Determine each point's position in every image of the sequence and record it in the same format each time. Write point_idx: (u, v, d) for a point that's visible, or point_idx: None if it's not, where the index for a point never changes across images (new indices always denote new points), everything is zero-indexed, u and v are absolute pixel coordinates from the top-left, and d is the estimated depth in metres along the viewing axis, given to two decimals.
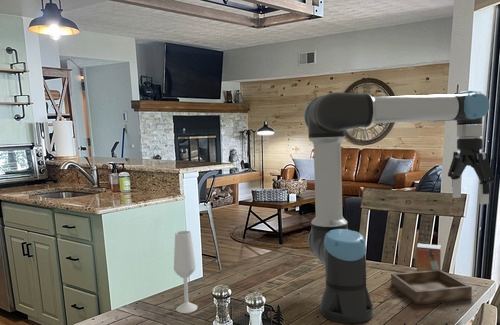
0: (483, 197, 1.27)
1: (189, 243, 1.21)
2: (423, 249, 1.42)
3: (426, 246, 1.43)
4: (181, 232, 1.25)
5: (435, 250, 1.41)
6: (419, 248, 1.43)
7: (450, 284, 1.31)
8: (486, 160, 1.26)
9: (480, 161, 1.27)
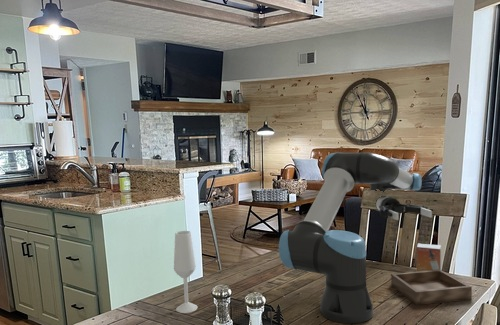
0: None
1: (189, 243, 1.21)
2: (423, 249, 1.42)
3: (426, 246, 1.43)
4: (181, 232, 1.25)
5: (435, 250, 1.41)
6: (419, 248, 1.43)
7: (450, 284, 1.31)
8: None
9: (411, 205, 1.67)
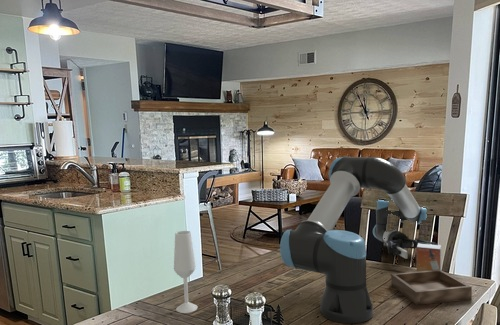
0: None
1: (189, 243, 1.21)
2: (423, 249, 1.42)
3: (426, 246, 1.43)
4: (181, 232, 1.25)
5: (435, 250, 1.41)
6: (419, 248, 1.43)
7: (450, 284, 1.31)
8: None
9: None
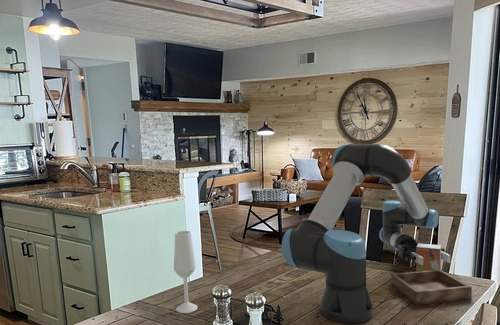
0: None
1: (189, 243, 1.21)
2: (422, 248, 1.42)
3: (426, 246, 1.43)
4: (181, 232, 1.25)
5: (435, 250, 1.41)
6: (419, 248, 1.43)
7: (450, 284, 1.31)
8: None
9: None
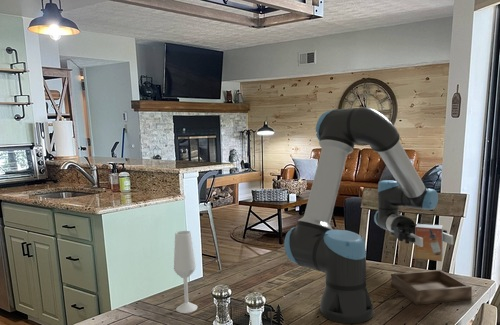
0: None
1: (189, 243, 1.21)
2: (422, 229, 1.26)
3: (426, 226, 1.27)
4: (181, 232, 1.25)
5: (436, 230, 1.25)
6: (418, 228, 1.27)
7: (450, 284, 1.31)
8: None
9: None
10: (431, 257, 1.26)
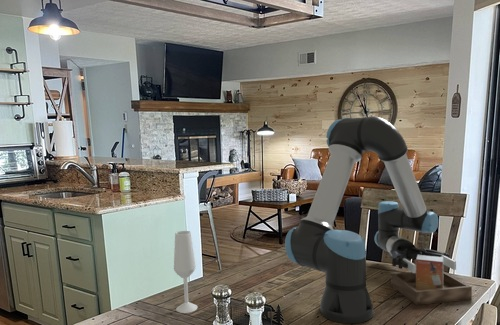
0: None
1: (189, 243, 1.21)
2: (423, 261, 1.27)
3: (427, 258, 1.27)
4: (181, 232, 1.25)
5: (436, 263, 1.25)
6: (419, 260, 1.27)
7: (450, 284, 1.31)
8: None
9: (429, 249, 1.39)
10: None
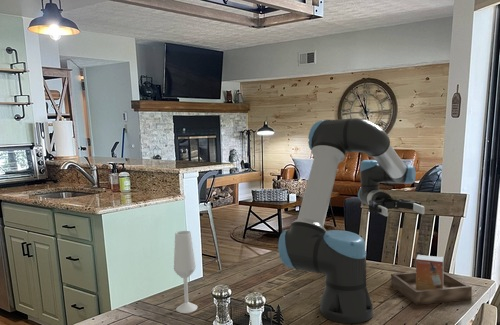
0: None
1: (189, 243, 1.21)
2: (423, 261, 1.27)
3: (427, 258, 1.27)
4: (181, 232, 1.25)
5: (436, 263, 1.25)
6: (419, 260, 1.27)
7: (450, 284, 1.31)
8: None
9: (404, 200, 1.55)
10: None
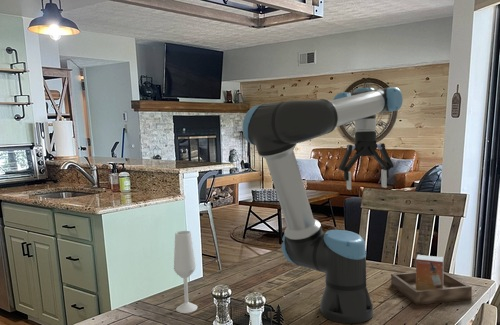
0: None
1: (189, 243, 1.21)
2: (423, 261, 1.27)
3: (427, 258, 1.27)
4: (181, 232, 1.25)
5: (436, 263, 1.25)
6: (419, 260, 1.27)
7: (450, 284, 1.31)
8: None
9: (384, 150, 1.46)
10: None
